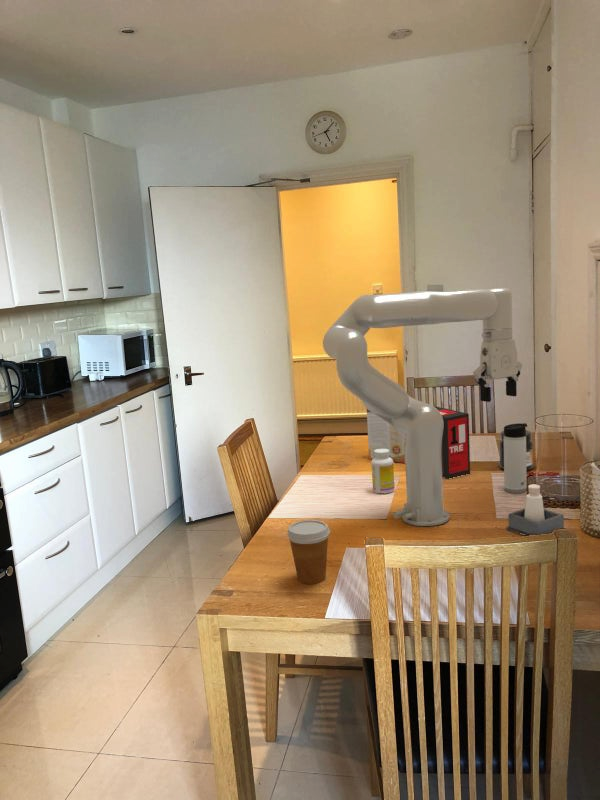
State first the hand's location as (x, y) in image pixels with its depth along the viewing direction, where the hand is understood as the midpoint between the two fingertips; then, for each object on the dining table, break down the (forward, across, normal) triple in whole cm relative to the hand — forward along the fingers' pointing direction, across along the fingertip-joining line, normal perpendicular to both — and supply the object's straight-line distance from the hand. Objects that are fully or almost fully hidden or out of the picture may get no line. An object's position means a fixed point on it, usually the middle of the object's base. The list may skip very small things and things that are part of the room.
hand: (498, 398), depth 179 cm
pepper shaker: (+30, -7, -18) cm, 36 cm away
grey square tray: (+30, -7, -18) cm, 36 cm away
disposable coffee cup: (+31, -65, -5) cm, 72 cm away
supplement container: (+31, +30, +21) cm, 48 cm away
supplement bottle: (+31, -16, +32) cm, 47 cm away
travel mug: (+31, +13, +6) cm, 34 cm away
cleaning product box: (+31, +11, +35) cm, 48 cm away
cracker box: (+31, +7, +58) cm, 66 cm away
